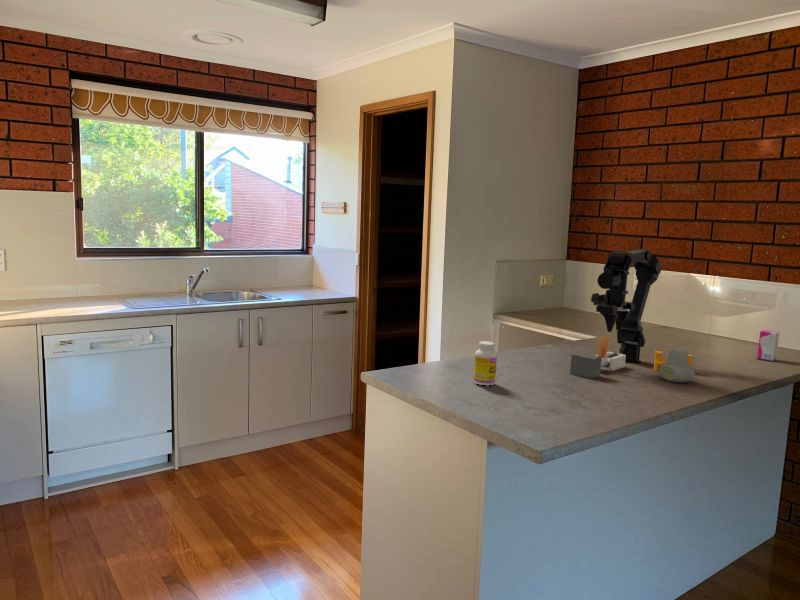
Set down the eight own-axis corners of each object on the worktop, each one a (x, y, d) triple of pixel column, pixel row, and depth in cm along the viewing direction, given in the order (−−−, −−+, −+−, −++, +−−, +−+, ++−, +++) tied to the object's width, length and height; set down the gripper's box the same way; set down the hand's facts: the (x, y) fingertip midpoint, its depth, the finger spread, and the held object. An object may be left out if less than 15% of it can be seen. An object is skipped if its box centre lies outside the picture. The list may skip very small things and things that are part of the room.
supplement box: (776, 360, 252) (780, 331, 250) (772, 362, 247) (776, 333, 246) (760, 357, 256) (763, 329, 254) (756, 359, 251) (759, 331, 250)
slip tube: (609, 361, 228) (612, 333, 227) (619, 363, 226) (621, 335, 225) (589, 367, 217) (591, 338, 215) (598, 369, 214) (601, 340, 213)
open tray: (607, 363, 231) (608, 351, 230) (624, 366, 226) (625, 354, 226) (594, 367, 223) (595, 355, 222) (611, 371, 219) (613, 358, 218)
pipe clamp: (654, 370, 223) (656, 353, 222) (653, 368, 227) (655, 350, 226) (691, 375, 219) (693, 357, 218) (689, 372, 223) (691, 354, 223)
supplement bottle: (489, 388, 189) (492, 346, 187) (469, 384, 193) (472, 342, 191) (498, 383, 195) (501, 342, 193) (478, 379, 198) (481, 339, 196)
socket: (578, 371, 216) (579, 352, 215) (600, 376, 210) (601, 356, 210) (569, 373, 212) (571, 354, 211) (592, 378, 206) (593, 359, 205)
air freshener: (653, 377, 213) (657, 348, 212) (672, 375, 216) (675, 347, 215) (679, 385, 203) (683, 355, 202) (698, 384, 206) (701, 354, 205)
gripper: (607, 283, 234) (604, 325, 236) (584, 286, 220) (580, 330, 222) (637, 287, 226) (633, 329, 228) (614, 290, 213) (610, 335, 215)
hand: (613, 331), depth 224 cm, fingers open, 6 cm apart
